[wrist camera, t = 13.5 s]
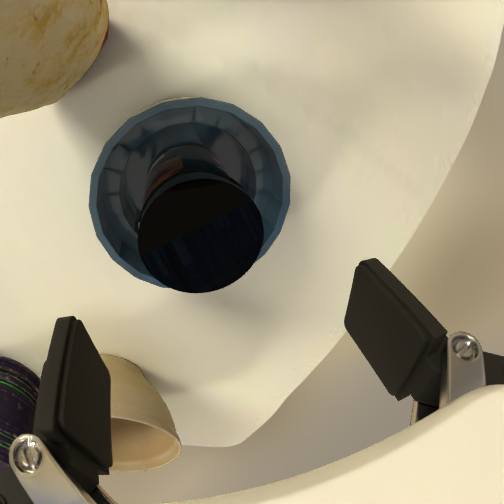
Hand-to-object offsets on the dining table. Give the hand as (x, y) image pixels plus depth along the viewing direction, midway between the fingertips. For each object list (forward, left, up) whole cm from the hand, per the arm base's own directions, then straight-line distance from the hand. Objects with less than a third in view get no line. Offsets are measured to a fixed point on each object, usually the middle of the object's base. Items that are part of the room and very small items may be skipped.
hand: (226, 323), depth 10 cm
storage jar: (+23, -30, -18) cm, 42 cm away
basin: (+1, 0, -18) cm, 18 cm away
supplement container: (+1, 0, -18) cm, 18 cm away
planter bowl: (+24, -14, -18) cm, 33 cm away
